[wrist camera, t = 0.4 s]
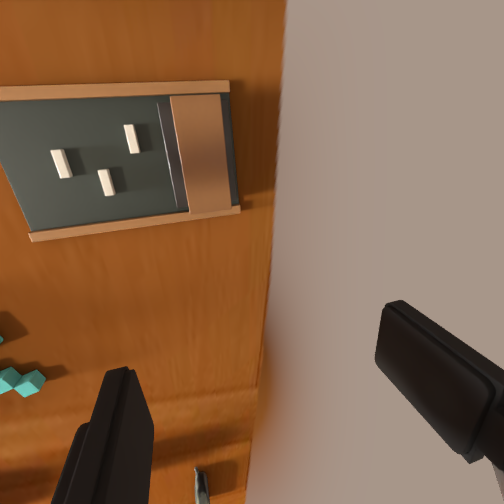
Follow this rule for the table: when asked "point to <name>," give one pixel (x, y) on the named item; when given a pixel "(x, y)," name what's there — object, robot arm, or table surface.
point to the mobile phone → (201, 488)
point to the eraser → (199, 151)
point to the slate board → (94, 155)
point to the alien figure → (20, 381)
